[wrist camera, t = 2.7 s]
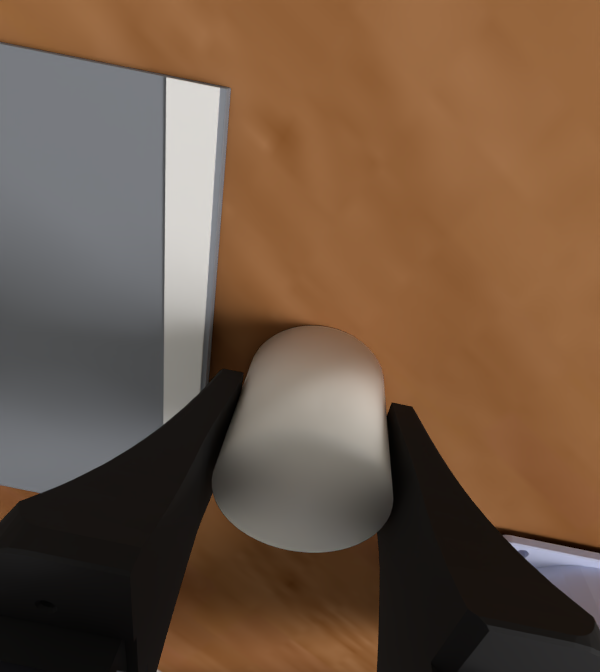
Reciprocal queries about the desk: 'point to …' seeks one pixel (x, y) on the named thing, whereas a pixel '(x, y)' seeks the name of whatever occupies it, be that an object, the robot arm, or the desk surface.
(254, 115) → the desk surface
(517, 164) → the desk surface
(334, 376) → the white tapered cylinder
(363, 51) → the desk surface
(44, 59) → the gray book
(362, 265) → the desk surface
